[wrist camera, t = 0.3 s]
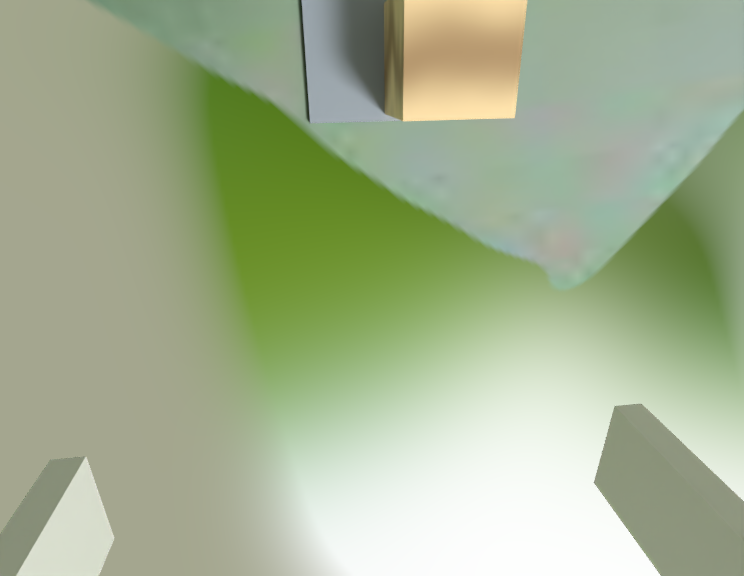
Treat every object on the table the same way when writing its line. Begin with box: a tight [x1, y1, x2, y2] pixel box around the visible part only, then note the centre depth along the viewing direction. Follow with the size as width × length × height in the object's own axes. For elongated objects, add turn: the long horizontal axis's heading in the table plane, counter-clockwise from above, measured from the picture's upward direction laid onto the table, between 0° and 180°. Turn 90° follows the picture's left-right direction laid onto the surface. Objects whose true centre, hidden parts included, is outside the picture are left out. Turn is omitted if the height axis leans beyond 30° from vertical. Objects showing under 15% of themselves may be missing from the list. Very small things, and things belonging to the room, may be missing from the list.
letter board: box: [302, 0, 401, 123], centre depth 32 cm, size 8×14×1 cm, turn 91°
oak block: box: [384, 0, 527, 121], centre depth 29 cm, size 7×7×7 cm
